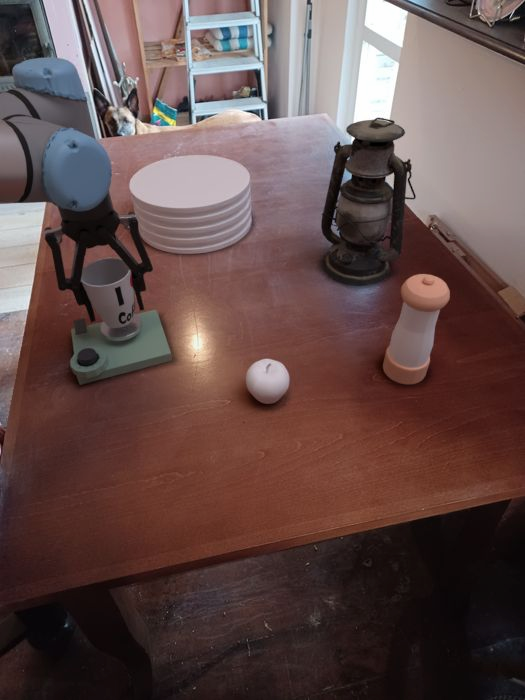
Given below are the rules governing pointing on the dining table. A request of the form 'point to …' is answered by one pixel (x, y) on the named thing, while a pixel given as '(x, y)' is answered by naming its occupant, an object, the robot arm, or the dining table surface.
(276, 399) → the plain white apple
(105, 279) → the cup
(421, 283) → the salt shaker
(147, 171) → the plate stack
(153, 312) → the scale
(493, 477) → the dining table surface
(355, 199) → the lantern
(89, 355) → the button
